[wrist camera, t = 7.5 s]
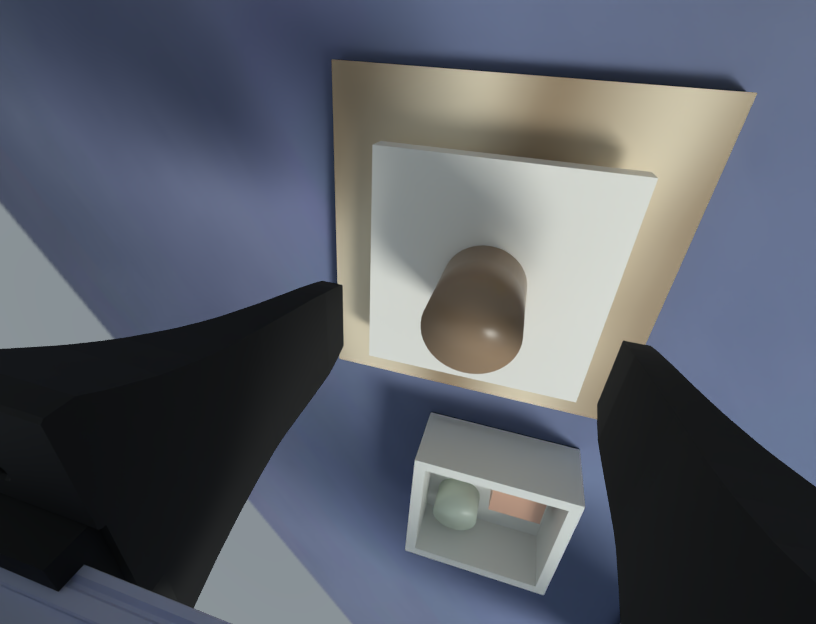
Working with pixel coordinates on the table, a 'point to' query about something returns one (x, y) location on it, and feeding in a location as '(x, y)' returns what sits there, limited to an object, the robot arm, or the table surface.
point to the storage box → (494, 501)
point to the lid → (497, 262)
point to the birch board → (541, 139)
